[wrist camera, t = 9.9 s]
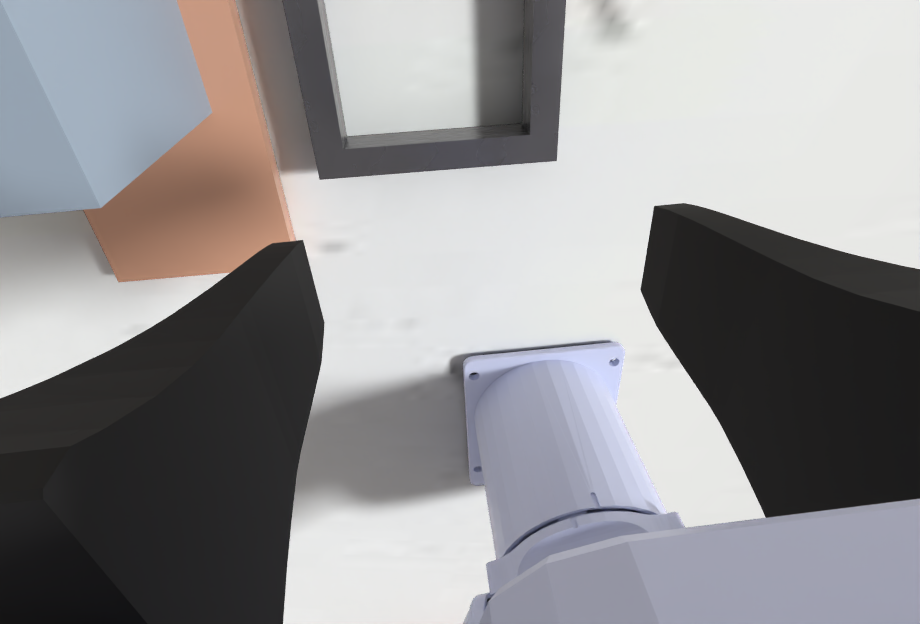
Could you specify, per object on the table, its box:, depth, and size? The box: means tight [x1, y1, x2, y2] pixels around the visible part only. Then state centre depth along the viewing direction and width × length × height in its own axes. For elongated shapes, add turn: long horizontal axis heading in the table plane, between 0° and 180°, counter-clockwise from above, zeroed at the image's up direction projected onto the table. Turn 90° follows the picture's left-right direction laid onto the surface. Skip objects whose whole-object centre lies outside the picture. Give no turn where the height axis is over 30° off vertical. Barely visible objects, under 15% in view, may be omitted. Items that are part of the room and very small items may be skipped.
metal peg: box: [0, 0, 212, 217], centre depth 13 cm, size 4×4×8 cm
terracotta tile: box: [84, 0, 296, 282], centre depth 17 cm, size 16×7×1 cm, turn 3°
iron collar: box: [283, 0, 566, 180], centre depth 17 cm, size 8×8×2 cm
